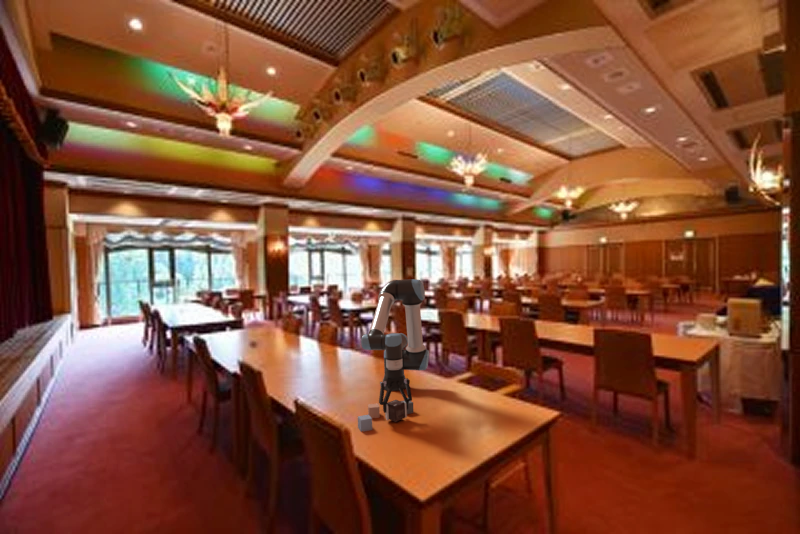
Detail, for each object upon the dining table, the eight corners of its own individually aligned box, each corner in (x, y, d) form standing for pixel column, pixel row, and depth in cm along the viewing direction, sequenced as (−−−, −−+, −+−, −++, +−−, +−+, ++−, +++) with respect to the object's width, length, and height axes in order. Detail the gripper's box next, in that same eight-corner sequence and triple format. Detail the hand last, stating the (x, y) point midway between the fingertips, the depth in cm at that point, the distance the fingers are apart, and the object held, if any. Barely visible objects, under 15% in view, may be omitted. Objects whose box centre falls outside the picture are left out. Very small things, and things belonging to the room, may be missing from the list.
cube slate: (357, 427, 167) (357, 416, 167) (368, 425, 169) (368, 414, 169) (361, 432, 163) (360, 420, 163) (372, 429, 164) (371, 418, 165)
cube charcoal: (399, 411, 185) (399, 401, 185) (408, 409, 187) (408, 399, 188) (404, 414, 181) (404, 404, 181) (413, 412, 183) (413, 402, 183)
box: (396, 414, 178) (395, 399, 178) (405, 418, 174) (405, 402, 174) (386, 418, 174) (386, 402, 174) (395, 422, 169) (395, 405, 169)
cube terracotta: (368, 414, 182) (367, 404, 182) (378, 413, 183) (378, 403, 183) (369, 418, 177) (368, 407, 178) (379, 417, 178) (379, 406, 178)
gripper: (374, 372, 167) (376, 424, 167) (418, 367, 173) (420, 417, 173) (370, 368, 174) (372, 418, 174) (413, 363, 180) (414, 411, 180)
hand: (396, 417), depth 174 cm, fingers closed on box, 8 cm apart
